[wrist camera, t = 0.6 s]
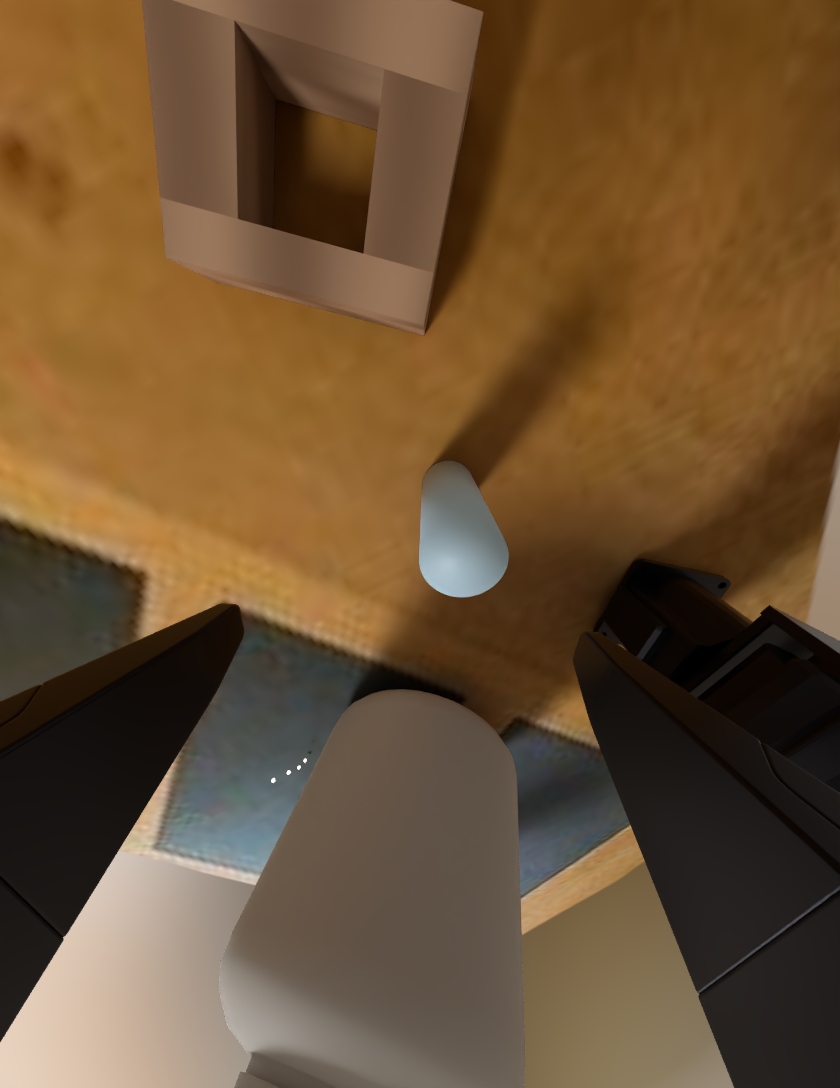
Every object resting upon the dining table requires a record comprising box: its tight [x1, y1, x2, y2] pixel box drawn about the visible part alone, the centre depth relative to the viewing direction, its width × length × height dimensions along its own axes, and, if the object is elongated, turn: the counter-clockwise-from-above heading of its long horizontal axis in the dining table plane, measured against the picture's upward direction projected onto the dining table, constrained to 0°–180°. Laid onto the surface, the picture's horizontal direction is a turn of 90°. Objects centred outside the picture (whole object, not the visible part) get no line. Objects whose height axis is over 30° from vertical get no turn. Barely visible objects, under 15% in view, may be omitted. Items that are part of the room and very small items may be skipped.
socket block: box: [142, 0, 483, 335], centre depth 12 cm, size 10×8×3 cm
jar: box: [219, 689, 525, 1088], centre depth 17 cm, size 19×15×25 cm
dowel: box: [419, 461, 509, 597], centre depth 15 cm, size 3×3×9 cm
